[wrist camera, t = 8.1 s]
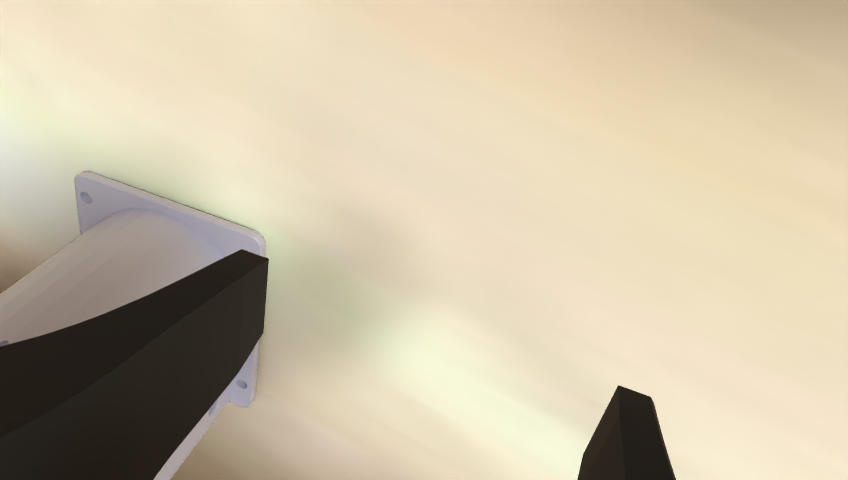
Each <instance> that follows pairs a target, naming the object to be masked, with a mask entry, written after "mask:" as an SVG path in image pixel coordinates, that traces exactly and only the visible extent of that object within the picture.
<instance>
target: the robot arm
mask: <svg viewBox="0 0 848 480" xmlns="http://www.w3.org/2000/svg"><path fill="white" fill-rule="evenodd" d="M75 190H76V198H77V207H78V215H79V223H80V232H81V236H79V237H78V238H76V239H75V240H74V241H72V242H71V243H70V244H68V245H67V246H65V247H64V248H63V249H61V250H60V251H59V252H57V253H56V254H54V255H53V256H52V257H50V258H49V259H48V260H46V261H45V262H43V263H42V264H41V265H39V266H38V267H37V268H35V269H34V270H32V271H31V272H30V273H28V274H27V275H26V276H24V277H23V278H21V279H20V280H19V281H17V282H16V283H15V284H13V285H12V286H10V287H9V288H8V289H6V290H5V291H4V292H2V293H1V294H0V480H170V479H171V478H172V476H173V475H174V474H175V472H176V471H177V470H178V468H179V467H180V466H181V464H182V463H183V462H184V460H185V459H186V458H187V456H188V455H189V454H190V453H191V451H192V450H193V449H194V447H195V446H196V445H197V443H198V442H199V441H200V439H201V438H202V437H203V435H204V434H205V433H206V431H207V430H208V429H209V427H210V426H211V425H212V423H213V422H214V421H215V419H216V418H217V417H218V415H219V414H220V413H221V411H222V410H223V409H224V407H225V406H226V405H227V403H228V402H231V403H233V404H236V405H238V406H241V407H249V406H251V405H252V403H253V402H254V400H255V394H256V380H257V365H258V351H259V339H260V337H261V335H262V334H263V329H264V315H265V302H266V288H267V275H268V262H269V259H268V258H265V253H266V242H265V240H264V238H263V236H262V235H261V234H260V233H258V232H256V231H254V230H252V229H249V228H246V227H243V226H240V225H238V224H235V223H232V222H229V221H226V220H224V219H221V218H218V217H215V216H212V215H210V214H207V213H204V212H201V211H198V210H196V209H193V208H190V207H187V206H184V205H182V204H179V203H176V202H173V201H170V200H168V199H165V198H162V197H159V196H156V195H153V194H151V193H148V192H145V191H142V190H139V189H137V188H134V187H131V186H128V185H125V184H123V183H120V182H117V181H114V180H111V179H109V178H106V177H103V176H100V175H97V174H95V173H92V172H88V171H85V172H82V173H80V174H79V175H77V176H76V178H75ZM89 195H90V196H91V197H90V196H89ZM248 251H250V252H248ZM578 480H676V478H675V475H674V472H673V469H672V466H671V463H670V460H669V456H668V453H667V450H666V447H665V443H664V440H663V436H662V433H661V429H660V425H659V422H658V418H657V414H656V410H655V406H654V403H653V401H652V399H651V397H649V396H647V395H644V394H641V393H638V392H636V391H633V390H630V389H627V388H624V387H622V386H619V385H618V387H617V389H616V391H615V393H614V395H613V397H612V399H611V401H610V403H609V405H608V407H607V409H606V411H605V413H604V414H603V416H602V418H601V420H600V422H599V424H598V426H597V428H596V430H595V432H594V434H593V436H592V438H591V440H590V442H589V444H588V446H587V448H586V450H585V452H584V454H583V458H582V462H581V467H580V471H579V475H578Z"/></svg>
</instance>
